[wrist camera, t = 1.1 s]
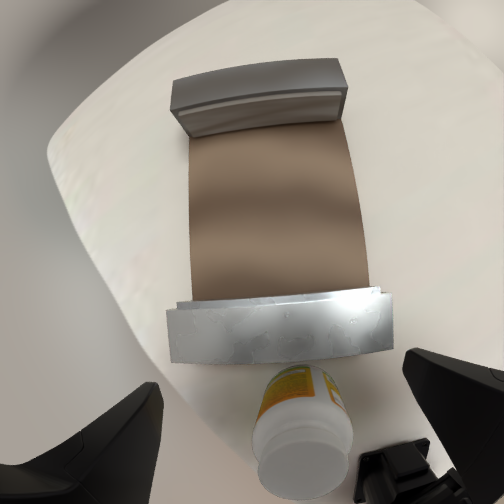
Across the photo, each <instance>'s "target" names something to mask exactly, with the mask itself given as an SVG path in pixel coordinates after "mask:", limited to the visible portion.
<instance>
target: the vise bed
mask: <svg viewBox="0 0 504 504" xmlns="http://www.w3.org/2000/svg"><path fill="white" fill-rule="evenodd" d="M347 90H348V85H347V82H346V80H345V77H344V74H343V71H342V69H341V66H340V64H339V61H338V58H319V59H297V60H284V61H273V62H265V63H257V64H249V65H243V66H237V67H231V68H225V69H220V70H215V71H210V72H206V73H201V74H197V75H193V76H189V77H185V78H181V79H177V80H174V81H173V86H172V95H171V105H170V111H171V112H172V114H173V115H174V116H175V118H176V119H177V121H178V122H179V123H180V125H181V126H182V128H183V129H184V130H185V132H186V133H187V134H188V136H189V235H190V261H191V280H192V296H193V300H206V299H225V298H242V297H257V296H271V295H283V294H295V293H307V292H317V291H327V290H337V289H346V288H355V287H364V286H370V285H369V273H368V263H367V254H366V245H365V237H364V230H363V223H362V216H361V210H360V204H359V198H358V193H357V187H356V182H355V177H354V172H353V167H352V162H351V158H350V153H349V149H348V144H347V140H346V136H345V132H344V128H343V124H342V121H341V117H342V113H343V108H344V104H345V99H346V95H347Z"/></svg>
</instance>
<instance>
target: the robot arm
mask: <svg viewBox="0 0 504 504" xmlns="http://www.w3.org/2000/svg"><path fill="white" fill-rule="evenodd" d="M402 370H403V374H404V376H405V378H406V380H407V382H408V384H409V386H410V388H411V391H412V393H413V395H414V397H415V399H416V401H417V403H418V404H419V406H420V408H421V409H422V411H423V413H424V414H425V416H426V418H427V419H428V421H429V423H430V424H431V426H432V428H433V429H434V431H435V433H436V434H437V436H438V438H439V440H440V441H441V443H442V445H443V447H444V448H445V450H446V452H447V454H448V455H449V457H450V459H451V461H452V463H453V464H454V466H455V468H456V470H457V471H456V470H455V469H454V468H453V467H452V468H451V469H449V470H448V471H447V473H446V474H444V475H443V476H442V477H440V478H439V479H438V478H437V477H436V475H435V474H434V472H433V471H432V470H431V468H430V465H429V463H428V462H427V461H426V458H427V454H428V450H429V445H430V441H429V440H428V439H427V438H425V439H421V440H418V441H415V442H411V443H407V444H403V445H400V446H396V447H392V448H387V449H384V450H379V451H374V452H369V453H365V454H362V455H361V456H360V458H359V464H358V472H357V479H356V485H355V491H354V497H353V500H354V503H356V504H359V503H364V502H366V503H367V504H495V503H496V502H497V501H498V500H499V499H500V498H502V497H503V496H504V371H501V370H497V369H493V368H488V367H485V366H481V365H477V364H473V363H470V362H466V361H462V360H459V359H455V358H451V357H448V356H444V355H441V354H437V353H434V352H430V351H427V350H424V349H420V348H412V349H409V350H407V352H406V354H405V359H404V363H403V367H402ZM163 409H164V401H163V398H162V394H161V391H160V388H159V385H158V384H157V383H156V382H145V383H144V384H142V385H141V386H140V387H138V388H137V389H136V390H134V391H133V392H132V393H131V394H129V395H128V396H127V397H125V398H124V399H123V400H121V401H120V402H119V403H117V404H116V405H115V406H113V407H112V408H111V409H109V410H108V411H107V412H105V413H104V414H102V415H101V416H100V417H98V418H97V419H96V420H95V421H93V422H92V423H90V424H89V425H88V426H86V427H85V428H83V429H82V430H81V431H79V432H78V433H76V434H75V435H73V436H72V437H70V438H69V439H67V440H66V441H64V442H63V443H61V444H60V445H58V446H56V447H54V448H53V449H51V450H49V451H47V452H45V453H43V454H42V455H39V456H38V457H36V458H34V459H32V460H30V461H28V462H25V463H23V464H19V465H4V464H0V504H148V503H149V498H150V492H151V487H152V482H153V476H154V471H155V466H156V461H157V457H158V451H159V447H160V441H161V431H162V420H163ZM424 443H425V444H424ZM423 444H424V445H423ZM364 458H367V459H365V460H363V459H364Z"/></svg>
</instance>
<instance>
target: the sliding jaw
mask: <svg viewBox="0 0 504 504" xmlns="http://www.w3.org/2000/svg"><path fill="white" fill-rule="evenodd" d="M166 315H167V327H168V338H169V347H170V356H171V363H189V364H260V363H281V362H296V361H308V360H319V359H328V358H337V357H345V356H353V355H360V354H367V353H373V352H379V351H385V350H391V349H393V309H392V293H387V292H380V286H364V287H355V288H346V289H337V290H327V291H317V292H307V293H295V294H283V295H271V296H257V297H242V298H225V299H206V300H192V301H183V302H177V308H176V309H169V310H166Z"/></svg>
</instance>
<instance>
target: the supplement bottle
mask: <svg viewBox="0 0 504 504" xmlns="http://www.w3.org/2000/svg"><path fill="white" fill-rule="evenodd" d="M352 443H353V428H352V424H351V421H350V418H349V416H348V414H347V411H346V409H345V406H344V403H343V401H342V399H341V396H340V394H339V391H338V389H337V386H336V385H335V383H334V381H333V379H332V378H331V377H330V376H329V375H328V374H327V373H326V372H325V371H323V370H321V369H319V368H317V367H314V366H308V365H299V366H293V367H289V368H287V369H284V370H283V371H281V372H279V373H278V374H277V375H276V376H275V377H274V378H273V379H272V380H271V381H270V383H269V384H268V386H267V388H266V391H265V394H264V397H263V401H262V404H261V407H260V411H259V414H258V417H257V420H256V424H255V427H254V430H253V435H252V448H253V452H254V455H255V457H256V459H257V460H258V462H259V466H258V476H259V480H260V482H261V484H262V485H263V486H264V487H265V489H267V490H268V491H269V492H271V493H272V494H274V495H276V496H278V497H281V498H284V499H290V500H309V499H314V498H318V497H321V496H323V495H326V494H328V493H329V492H331V491H333V490H334V489H336V488H337V487H338V486H339V485H340V484H341V483H342V482H343V480H344V479H345V477H346V475H347V472H348V467H349V464H348V458H347V455H348V454H349V452H350V450H351V447H352Z"/></svg>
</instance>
